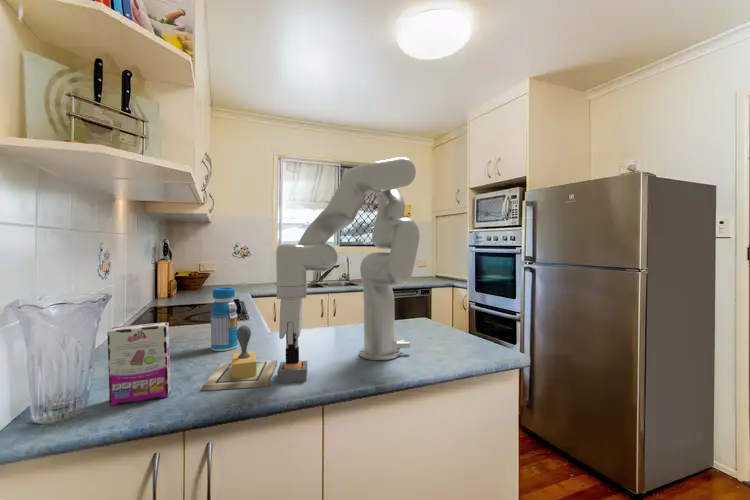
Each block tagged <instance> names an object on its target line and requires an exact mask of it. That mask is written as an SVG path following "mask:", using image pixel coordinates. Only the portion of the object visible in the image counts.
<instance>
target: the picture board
mask: <svg viewBox="0 0 750 500" xmlns="http://www.w3.org/2000/svg"><path fill="white" fill-rule="evenodd" d="M256 362H257V374H256V376H250V377H242V378H235V379H233V378H232V362H224V363H221V364H220V365H219V366H218V367H217V368H216V370H214V372H213V373H212V374H211V375H210V376H209V378H208V379H207V380H206V381H205V382H204V383H203V384H202V391H212V390H227V389H229V390H231V389H244V388H246V389H247V388H261V387H269V385H270V382H271V380H272V377H273V375H274V374H275V373H274V372H275V370H276V368H277V365H278V360H277V359H275V360H273V359H272V360H260V361H259V360H258V361H257V360H256Z"/></svg>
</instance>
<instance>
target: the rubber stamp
mask: <svg viewBox="0 0 750 500" xmlns="http://www.w3.org/2000/svg"><path fill="white" fill-rule="evenodd" d="M251 334H252V331H251V328H250V327H249V326H247V325H245V324H244V325H240V326H239V327H237V341H238V344H239V346H240V348H241V349H240V350H241V351H240V352H234V353H232V356H231V363H232V378H233V379H235V378H242V377H250V376H256V374H257V362H256V361H257V359H256V358H257V357H256V352H255V351H254V350H251V351H247V349H248V345H249V342H250V338H251Z"/></svg>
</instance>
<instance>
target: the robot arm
mask: <svg viewBox="0 0 750 500" xmlns="http://www.w3.org/2000/svg"><path fill="white" fill-rule="evenodd" d="M416 173H417V171H416V167H415V164H414V163H413V161H412V160H410V159H409V158H407V157H402V156H401V157H394V158H390V159H385V160H378V161H372V162H367V163H363V164H360V165H357V166H354V167H351V168H350V169H348V170H347V171H346V172H345V174H344V175H343V177H342V179H341V180H340V182H339V185H338V186H337V188H336V190H335V192H334V193H333V196H332V197H331V199H330V201H329V203H328V204H327V206H326V207H325V208H324V210H322V211H321V212H320V213H319V214H318V215H317V217H316V218H315V219H314V220H313V221H312V222H311V223H310V224H309V225H308V227H307V228H306V229H305V230H304V233H303V234H302V236H300V239H299V240H298V242H297V243H293V244H292V243H289V244H286V243H285V244H280V245H278V246H277V247H276V251H275V253H276V257H275V258H276V259H275V260H276V264H275V265H276V267H275V268H276V299H277V300H280V303H279V331H278V332H279V334H278V335H279V336H278V337H279V340H283V339H284V338H285V362H286V364H297V363H298V362H299V360H300V351H299V350H300V346H299V338H300V336H301V331H302V323H303V299H305V298H307V294H308V293H307V289H308V288H307V286H308V285H307V271H313V272H326V271H329V270H331V269H333V268H334V267H335V266H336V264H337V262H338V253H337V251H336V249H335V248H334V247H333V246H332V245H330V244H328V243H327V242H328V241H329V240H330V238H332V237H333V236H334V235H335V234H337V233H339V232H341V230H343V229H345V228H346V227H348V226H349V225H351V224H352V223H353V222H354V221H355V219H356V217H357V215H358V213H359V211H360V209H361V207H362V206H363V203H364V202H365V199H366V197H367V196H368V195H371V194H376V196H377V199H378V208H377V213H376V217H375V222H374V225H373V231H372V235H371V240H372V243H373V245H374V246H375V247H376V248H378V249H380V250H390V251H389V252H371V253H368V254H367V255H366V256H364V258H363V259H362V260H361V262H360V269H359V271H360V278H361V283H362V289H363V290H362V292H363V293H362V294H363V341H364V342H363V345H364V346H363V347H361V348H360V349H359V351H358V355H359V357H360V358H363V359H364V360H365V359H366V360H370V361H388V360H393V359H396V358H398V357H399V356H400V354H401V353H400V352H401V351H400V350H401V349H410V348H411V342H410V341H405V340H397V339H396V337H395V335H396V333H395V328H396V327H395V326H396V325H395V295H394V291H393V287H392V286H403V285H405V284H406V283H408V282H409V281H410V280H411V277H412V275H413V271H414V268H415V263H416V259H417V254H418V249H419V243H420V230H419V229H420V228H419V227H418V225H417V223H416V222H415V221H414V220H413V219H412V218H408V217H405V211H406V203H405V199H404V197H403V194H402V193H401V192H400V190H399V188H402V187H408V186H410V184H412V183H413V182H414V180H415V178H416V176H417V175H416Z"/></svg>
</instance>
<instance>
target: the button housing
mask: <svg viewBox="0 0 750 500" xmlns="http://www.w3.org/2000/svg"><path fill="white" fill-rule="evenodd" d="M301 361H302V368H301V369H284V363H285V362H286V361H281V362H280V363H279V366H278V369H277V372H276V373H277V374H276V375H277V378H276V379H277V384H286V383H287V384H289V383H302V382H303V383H304V382H307V380H308V360H301Z"/></svg>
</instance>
